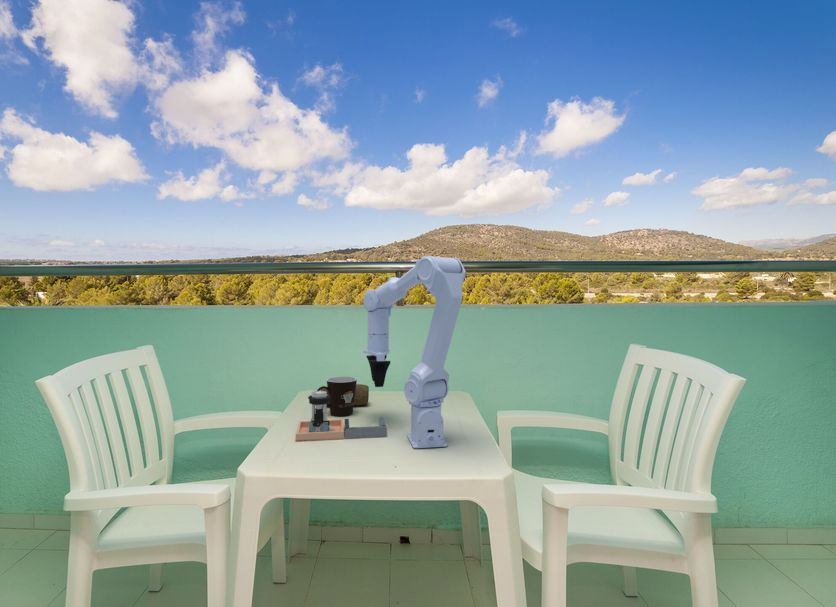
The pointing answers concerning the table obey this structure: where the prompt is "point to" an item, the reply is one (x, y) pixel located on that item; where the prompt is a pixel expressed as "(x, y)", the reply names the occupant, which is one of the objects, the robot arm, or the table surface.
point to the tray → (305, 435)
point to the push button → (319, 412)
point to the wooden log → (358, 394)
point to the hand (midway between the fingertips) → (377, 383)
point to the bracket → (366, 430)
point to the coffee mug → (341, 395)
